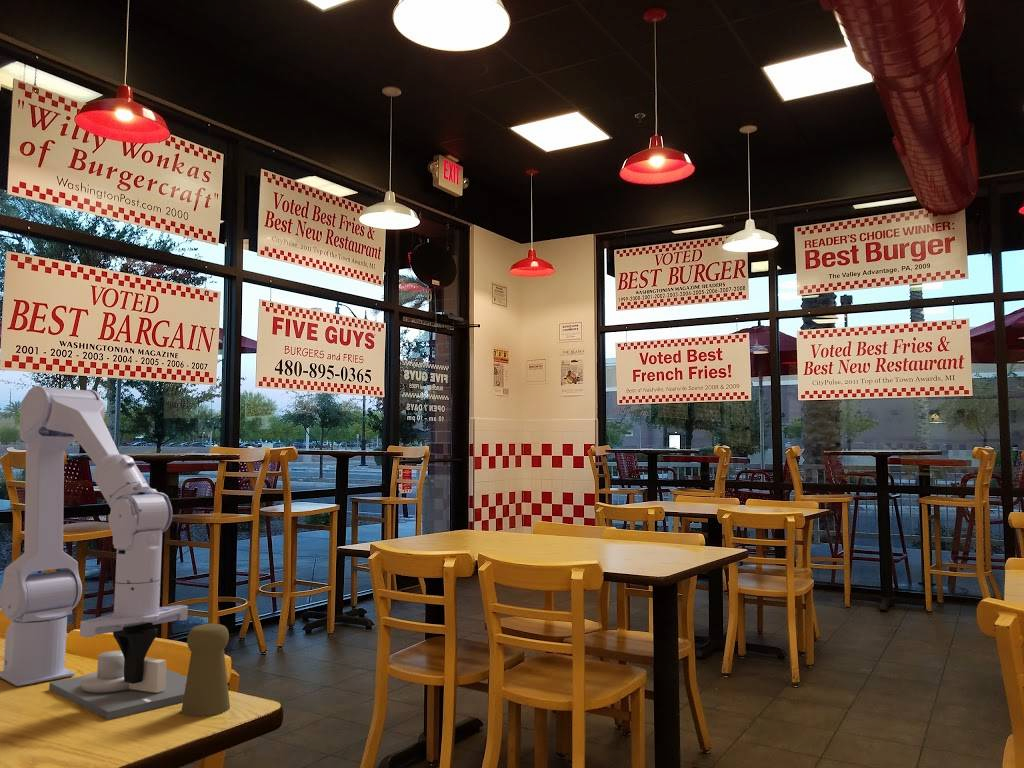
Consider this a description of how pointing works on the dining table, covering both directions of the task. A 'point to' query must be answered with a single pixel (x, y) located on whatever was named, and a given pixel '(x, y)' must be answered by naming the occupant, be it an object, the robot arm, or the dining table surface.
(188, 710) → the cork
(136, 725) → the dining table surface
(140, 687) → the dial
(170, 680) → the dial board
